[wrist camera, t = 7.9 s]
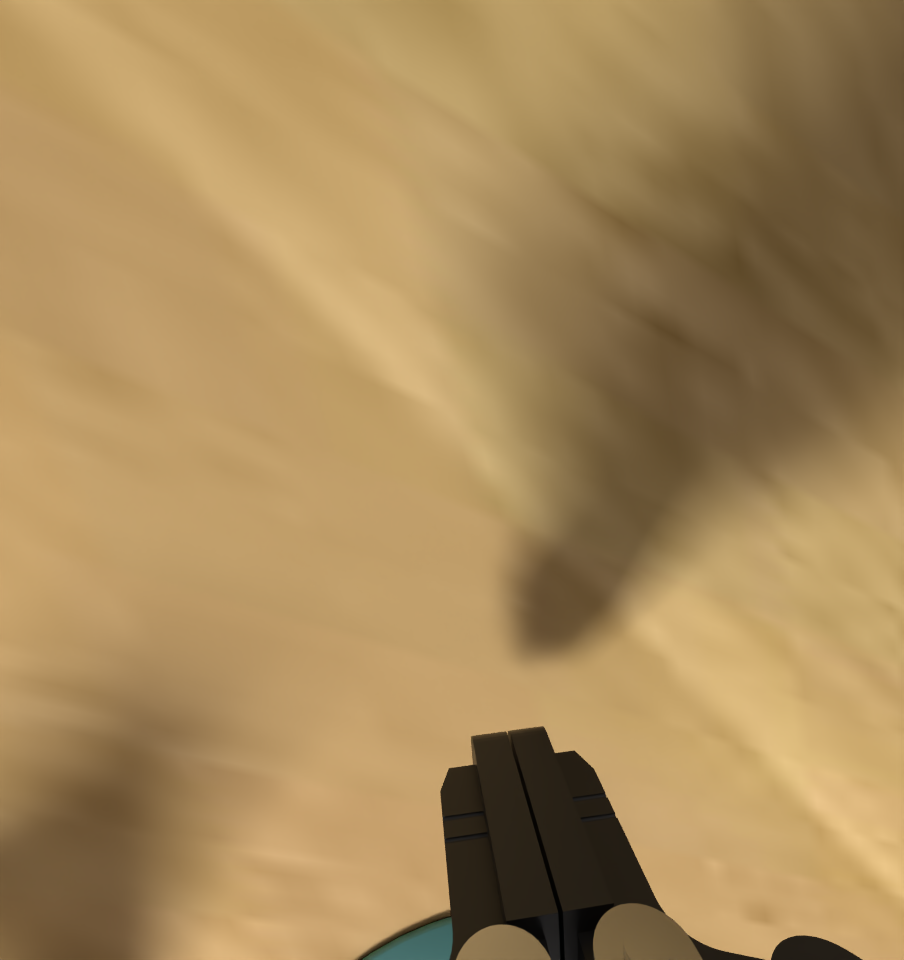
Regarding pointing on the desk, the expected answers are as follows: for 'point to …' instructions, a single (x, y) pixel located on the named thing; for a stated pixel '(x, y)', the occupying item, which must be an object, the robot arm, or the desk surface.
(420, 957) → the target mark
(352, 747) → the desk surface
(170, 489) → the desk surface
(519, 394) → the desk surface
